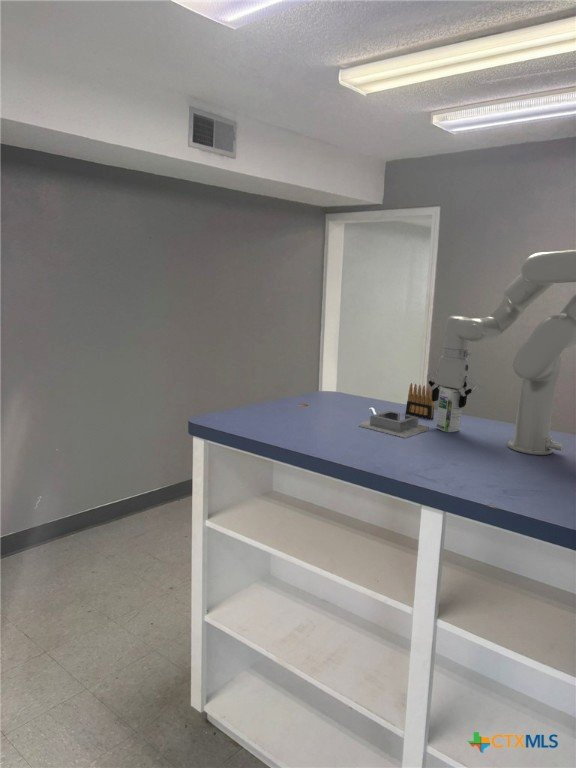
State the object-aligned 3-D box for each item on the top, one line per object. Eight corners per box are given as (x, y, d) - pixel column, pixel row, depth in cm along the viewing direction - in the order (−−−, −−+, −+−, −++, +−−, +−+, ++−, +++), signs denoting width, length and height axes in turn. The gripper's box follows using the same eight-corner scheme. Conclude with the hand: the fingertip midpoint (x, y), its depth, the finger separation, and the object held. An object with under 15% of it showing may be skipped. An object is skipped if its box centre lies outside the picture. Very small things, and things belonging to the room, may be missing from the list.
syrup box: (435, 428, 181) (439, 386, 179) (448, 427, 184) (452, 385, 181) (446, 432, 176) (450, 389, 174) (460, 431, 179) (464, 389, 176)
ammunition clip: (433, 419, 194) (436, 386, 192) (430, 419, 193) (433, 387, 191) (408, 413, 202) (410, 382, 199) (405, 414, 200) (407, 382, 198)
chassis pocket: (428, 429, 179) (429, 418, 178) (405, 438, 168) (406, 425, 167) (383, 419, 191) (384, 408, 190) (358, 426, 180) (359, 414, 179)
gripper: (484, 357, 172) (477, 408, 176) (436, 349, 184) (430, 397, 187) (474, 358, 167) (467, 411, 170) (425, 350, 178) (419, 400, 182)
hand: (448, 403), depth 179 cm, fingers open, 9 cm apart
